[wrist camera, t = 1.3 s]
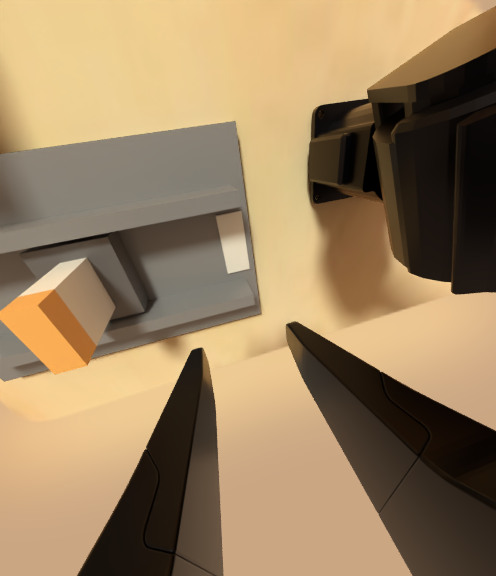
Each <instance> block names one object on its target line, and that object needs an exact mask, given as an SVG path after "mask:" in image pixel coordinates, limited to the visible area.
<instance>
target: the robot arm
mask: <svg viewBox="0 0 496 576" xmlns="http://www.w3.org/2000/svg"><path fill="white" fill-rule="evenodd" d="M367 93H368V99H363V100H355V101H348V102H341V103H333V104H326V105H321V106H318V107H316V108H315V109H314V111H313V114H312V140H311V142H310V144H309V179H310V180H311V192H310V199H311V201H312V202H313V203H316V204H319V203H324V202H329V201H334V200H339V199H343V198H348V197H353V196H355V197H360V198H364V199H369V200H373V201H378V202H383V203H384V209H385V215H386V221H387V227H388V233H389V239H390V245H391V249H392V252H393V255H394V257H395V258H396V259H397V260H398V261H399V262H400V263H402V264H403V265H404V266H405V267H407V269H408V272H409V273H411V274H414V275H417V276H419V277H422V278H426V279H431V280H437V281H442V282H451V292H452V293H453V294H469V293H480V292H496V6H495V7H493V8H491V9H490V10H488V11H486V12H484V13H482V14H480V15H478V16H477V17H475V18H473V19H471V20H469V21H467V22H466V23H464V24H462V25H460V26H458V27H456V28H455V29H453V30H452V31H450V32H449V33H447V34H446V35H444V36H443V37H441V38H440V39H439V40H437V41H436V42H434V43H433V44H431V45H430V46H429V47H427V48H426V49H424V50H423V51H421V52H420V53H419V54H417V55H416V56H414V57H413V58H411V59H410V60H409V61H407V62H406V63H404V64H403V65H401V66H400V67H399V68H397V69H396V70H394V71H393V72H391V73H390V74H388V75H387V76H386V77H384V78H383V79H381V80H380V81H378V82H377V83H376V84H374V85H373V86H371V87H370V88H368V89H367ZM319 111H321V113H322V116H321V118H319V117H318V113H319ZM316 195H318V196H319V197H318V199H317V200H316V199H315V197H316ZM286 337H287V342H288V345H289V348H290V350H291V352H292V354H293V357H294V359H295V362H296V364H297V366H298V369H299V371H300V373H301V376H302V378H303V380H304V382H305V384H306V385H307V387H308V389H309V391H310V393H311V394H312V396H313V398H314V400H315V402H316V403H317V405H318V407H319V409H320V411H321V412H322V414H323V416H324V418H325V419H326V421H327V423H328V425H329V427H330V428H331V430H332V432H333V434H334V435H335V437H336V439H337V441H338V443H339V445H340V446H341V448H342V450H343V452H344V454H345V455H346V457H347V459H348V461H349V462H350V464H351V466H352V468H353V470H354V471H355V473H356V475H357V477H358V478H359V480H360V482H361V484H362V486H363V487H364V489H365V491H366V493H367V495H368V496H369V498H370V500H371V502H372V504H373V505H374V507H375V509H376V511H377V512H378V513H379V516H380V518H381V520H382V522H383V523H384V525H385V527H386V529H387V531H388V532H389V534H390V536H391V538H392V540H393V541H394V543H395V545H396V547H397V549H398V550H399V552H400V554H401V556H402V558H403V559H404V561H405V563H406V564H407V566H408V568H409V570H410V572H411V574H412V575H413V576H496V431H495V430H493V429H491V428H489V427H487V426H485V425H483V424H481V423H479V422H476V421H475V420H473V419H471V418H469V417H467V416H465V415H462V414H461V413H459V412H457V411H455V410H453V409H450V408H448V407H447V406H445V405H443V404H441V403H439V402H436V401H434V400H432V399H430V398H429V397H427V396H425V395H423V394H421V393H419V392H417V391H415V390H413V389H411V388H410V387H408V386H406V385H404V384H402V383H401V382H399V381H397V380H395V379H393V378H392V377H390V376H388V375H387V374H385V373H383V372H380V371H379V370H378V369H376V368H375V367H373V366H371V365H369V364H368V363H366V362H364V361H363V360H361V359H359V358H358V357H356V356H354V355H353V354H351V353H349V352H347V351H346V350H344V349H342V348H341V347H339V346H337V345H336V344H334V343H332V342H330V341H328V340H327V339H325V338H324V337H322V336H320V335H319V334H317V333H315V332H313V331H312V330H310V329H308V328H307V327H305V326H303V325H302V324H300V323H298V322H291V323H288V324H286ZM146 448H147V449H145V450H144V452H143V454H142V456H141V459H140V461H139V463H138V465H137V467H136V469H135V471H134V473H133V475H132V477H131V479H130V481H129V484H128V485H127V487H126V489H125V491H124V493H123V495H122V496H121V498H120V500H119V502H118V504H117V506H116V507H115V509H114V511H113V513H112V515H111V516H110V519H109V520H108V522H107V524H106V525H105V527H104V529H103V531H102V533H101V534H100V536H99V538H98V540H97V541H96V543H95V545H94V547H93V548H92V550H91V552H90V554H89V555H88V557H87V559H86V561H85V563H84V564H83V566H82V568H81V570H80V571H79V573H78V575H77V576H223V557H222V536H221V513H220V492H219V471H218V448H217V426H216V408H215V399H214V393H213V387H212V380H211V375H210V368H209V363H208V360H207V357H206V354H205V352H204V349H203V348H197V349H194V350H192V351H191V353H190V355H189V357H188V359H187V361H186V363H185V366H184V368H183V370H182V372H181V374H180V376H179V378H178V380H177V383H176V385H175V387H174V389H173V391H172V393H171V395H170V397H169V399H168V402H167V404H166V406H165V408H164V410H163V412H162V414H161V416H160V419H159V421H158V423H157V425H156V427H155V429H154V431H153V433H152V435H151V438H150V440H149V442H148V444H147V446H146Z"/></svg>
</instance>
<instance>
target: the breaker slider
mask: <svg viewBox="0 0 496 576" xmlns="http://www.w3.org/2000/svg"><path fill="white" fill-rule="evenodd" d="M19 256H20V257H21V258H22V260H23V261H24V262H25V263H26V265H27V266H28V267H29V269H30V270H31V271H32V273H33V274H34V275H35V276H36V278H37V279H38V281H37V282H36V283H34V284H33V285H32V286H31V287H30V288H28V289H27V290H26V291H25V292H23V293H22V294H21V295H20V296H18V297H17V298H16V299H15V300H13V301H12V302H11V303H10V304H8V305H7V306H6V307H5V308H4V309H2V310H1V311H0V320H1V321H2V322H3V323H4V324H5V325H6V326H7V327H8V328H9V329H10V330H11V331H12V332H13V333H14V334H15V335H16V336H17V337H18V338H19V339H20V340H21V341H22V342H23V343H24V344H25V345H26V346H27V347H28V348H29V349H30V350H31V351H32V352H33V353H34V354H35V355H36V356H37V357H38V358H39V359H40V360H41V361H42V362H43V363H44V364H45V365H46V366H47V367H48V368H49V369H50V370H51V371H52V372H53V373H54V374H58V373H62V372H65V371H69V370H73V369H77V368H80V367H84V366H87V365H88V363H89V361H90V359H91V357H92V355H93V353H94V351H95V349H96V347H97V345H98V343H99V341H100V339H101V337H102V334H103V332H104V330H105V328H106V326H107V324H108V322H109V320H113V319H117V318H121V317H125V316H129V315H133V314H138V313H142V312H145V309H146V306H147V302H148V299H149V297H148V295H147V293H146V291H145V289H144V287H143V285H142V283H141V280H140V278H139V276H138V274H137V272H136V270H135V268H134V265H133V263H132V261H131V259H130V257H129V255H128V253H127V251H126V248H125V246H124V244H123V242H122V240H121V238H120V236H119V234H118V231H114V232H109V233H104V234H99V235H94V236H89V237H84V238H79V239H73V240H68V241H63V242H58V243H53V244H48V245H43V246H37V247H32V248H29V249H27V250H25V251H24V252H22V253H20V254H19Z"/></svg>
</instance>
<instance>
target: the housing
mask: <svg viewBox="0 0 496 576" xmlns="http://www.w3.org/2000/svg"><path fill="white" fill-rule="evenodd" d="M114 231H118V234H119V236H120V238H121V240H122V242H123V244H124V246H125V248H126V251H127V253H128V255H129V257H130V259H131V261H132V263H133V265H134V268H135V270H136V272H137V274H138V276H139V278H140V280H141V283H142V285H143V287H144V289H145V291H146V293H147V295H148V297H149V299H148V302H147V306H146V309H145V312H142V313H138V314H133V315H129V316H125V317H121V318H117V319H113V320H109V322H108V324H107V326H106V328H105V330H104V332H103V334H102V337H101V339H100V341H99V343H98V345H97V347H96V349H95V351H94V353H93V355H92V357H91V358H95V357H99V356H102V355H106V354H110V353H114V352H118V351H121V350H125V349H129V348H133V347H136V346H140V345H144V344H148V343H151V342H155V341H159V340H163V339H167V338H170V337H174V336H178V335H182V334H185V333H189V332H193V331H197V330H200V329H204V328H208V327H212V326H215V325H219V324H223V323H227V322H231V321H234V320H238V319H242V318H246V317H249V316H253V315H257V314H261V311H260V304H259V296H258V289H257V281H256V273H255V266H254V258H253V251H252V243H251V235H250V228H249V220H248V213H247V205H246V197H245V190H244V182H243V175H242V167H241V159H240V152H239V144H238V137H237V129H236V122H235V121H232V122H225V123H218V124H211V125H204V126H197V127H190V128H182V129H175V130H168V131H161V132H154V133H147V134H140V135H132V136H125V137H118V138H111V139H104V140H97V141H90V142H82V143H75V144H68V145H61V146H54V147H47V148H39V149H32V150H25V151H18V152H11V153H4V154H0V311H1V310H2V309H4V308H5V307H6V306H7V305H8V304H10V303H11V302H12V301H13V300H15V299H16V298H17V297H18V296H20V295H21V294H22V293H23V292H25V291H26V290H27V289H28V288H30V287H31V286H32V285H33V284H34V283H36V282H37V281H38V279H37V278H36V276H35V275H34V274H33V273H32V271H31V270H30V269H29V267H28V266H27V265H26V263H25V262H24V261H23V260H22V258H21V257H20V256H19V254H20V253H22V252H24V251H25V250H27V249H29V248H32V247H37V246H43V245H48V244H53V243H58V242H63V241H68V240H73V239H79V238H84V237H89V236H94V235H99V234H104V233H109V232H114ZM46 370H50V369H49V368H48V367H47V366H46V365H45V364H44V363H43V362H42V361H41V360H40V359H39V358H38V357H37V356H36V355H35V354H34V353H33V352H32V351H31V350H30V349H29V348H28V347H27V346H26V345H25V344H24V343H23V342H22V341H21V340H20V339H19V338H18V337H17V336H16V335H15V334H14V333H13V332H12V331H11V330H10V329H9V328H8V327H7V326H6V325H5V324H4V323H3V322H2V321H1V320H0V379H2V380H3V381H4V382H5V381H8V380H12V379H16V378H20V377H23V376H27V375H31V374H35V373H38V372H42V371H46Z"/></svg>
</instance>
